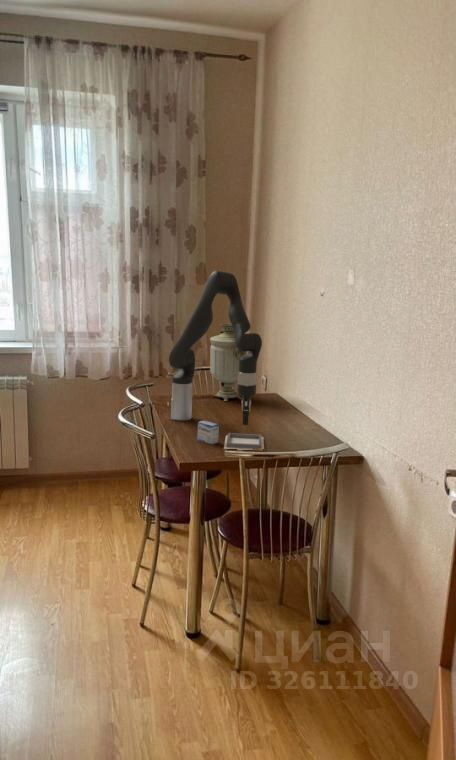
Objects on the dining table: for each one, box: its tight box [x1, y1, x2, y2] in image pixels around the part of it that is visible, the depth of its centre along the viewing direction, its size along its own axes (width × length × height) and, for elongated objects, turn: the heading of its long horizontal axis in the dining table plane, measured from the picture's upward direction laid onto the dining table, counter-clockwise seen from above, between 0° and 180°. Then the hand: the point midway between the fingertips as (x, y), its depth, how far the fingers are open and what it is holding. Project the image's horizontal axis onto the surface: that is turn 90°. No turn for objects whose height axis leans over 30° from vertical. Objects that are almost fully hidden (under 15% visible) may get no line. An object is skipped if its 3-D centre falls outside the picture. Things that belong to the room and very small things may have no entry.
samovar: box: [209, 322, 248, 402], centre depth 323 cm, size 30×26×40 cm
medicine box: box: [196, 420, 220, 445], centre depth 251 cm, size 8×4×9 cm, turn 53°
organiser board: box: [223, 432, 265, 451], centre depth 250 cm, size 16×17×3 cm
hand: (245, 422), depth 248 cm, fingers open, 7 cm apart
